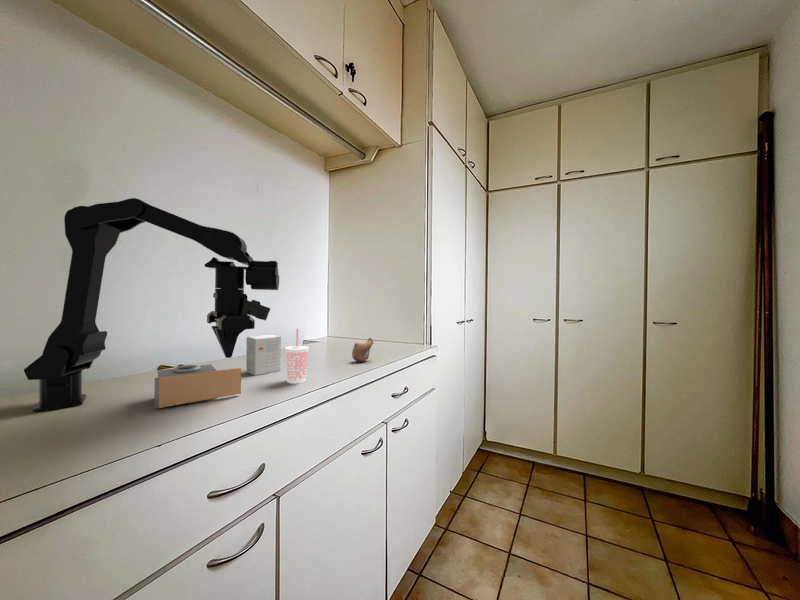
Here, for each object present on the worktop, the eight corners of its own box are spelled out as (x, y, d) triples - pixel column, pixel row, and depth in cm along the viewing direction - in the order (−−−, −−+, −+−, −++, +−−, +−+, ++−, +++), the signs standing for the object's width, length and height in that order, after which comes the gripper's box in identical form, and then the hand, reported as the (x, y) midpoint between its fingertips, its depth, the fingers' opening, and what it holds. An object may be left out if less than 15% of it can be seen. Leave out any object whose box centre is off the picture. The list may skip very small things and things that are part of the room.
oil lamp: (369, 358, 112) (370, 337, 112) (376, 360, 109) (377, 338, 109) (349, 362, 106) (350, 339, 105) (356, 364, 103) (357, 340, 103)
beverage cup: (279, 382, 80) (279, 329, 80) (294, 376, 86) (295, 327, 85) (298, 385, 78) (299, 330, 77) (313, 379, 83) (313, 328, 83)
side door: (154, 407, 60) (154, 378, 60) (239, 392, 70) (240, 367, 70) (154, 408, 59) (154, 379, 59) (240, 393, 69) (241, 368, 69)
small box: (271, 367, 95) (272, 334, 95) (281, 370, 92) (281, 336, 92) (245, 372, 89) (246, 336, 89) (254, 376, 86) (255, 338, 85)
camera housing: (157, 397, 67) (157, 367, 66) (210, 389, 73) (211, 361, 73) (159, 408, 60) (159, 375, 60) (217, 398, 67) (217, 368, 67)
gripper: (280, 290, 67) (278, 360, 67) (255, 289, 81) (254, 348, 82) (222, 288, 60) (221, 367, 60) (207, 288, 74) (206, 352, 74)
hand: (228, 357), depth 69 cm, fingers closed
